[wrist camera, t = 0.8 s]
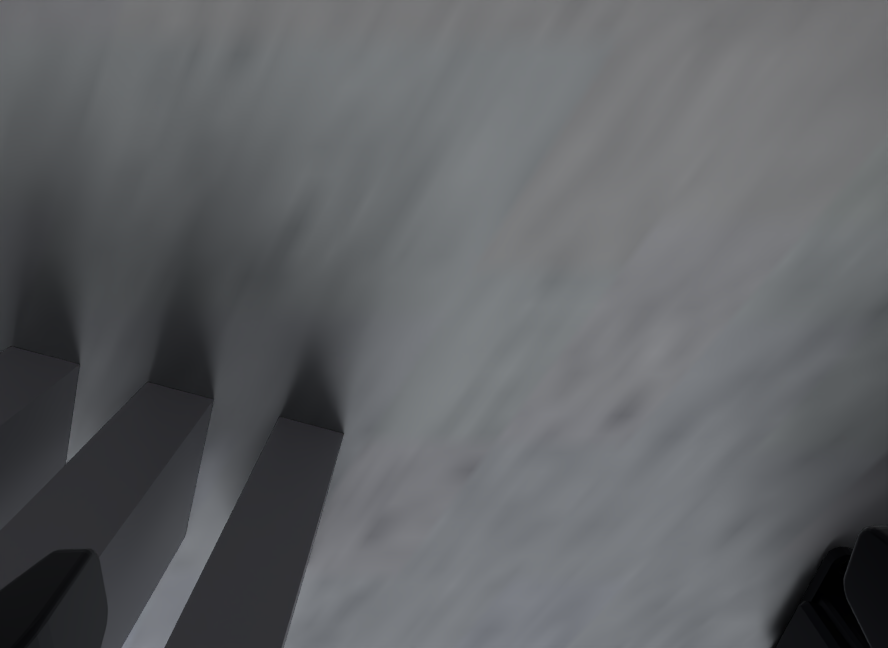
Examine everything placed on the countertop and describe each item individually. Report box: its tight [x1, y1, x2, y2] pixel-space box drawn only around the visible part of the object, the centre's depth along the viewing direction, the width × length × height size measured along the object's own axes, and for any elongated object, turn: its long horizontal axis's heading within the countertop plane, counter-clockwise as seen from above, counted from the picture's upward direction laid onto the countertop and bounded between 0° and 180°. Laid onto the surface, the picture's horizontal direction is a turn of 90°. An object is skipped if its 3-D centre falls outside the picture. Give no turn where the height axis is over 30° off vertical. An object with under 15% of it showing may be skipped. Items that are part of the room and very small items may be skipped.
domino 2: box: [0, 382, 214, 648], centre depth 18 cm, size 2×5×10 cm, turn 164°
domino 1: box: [165, 417, 344, 648], centre depth 18 cm, size 2×5×10 cm, turn 164°
